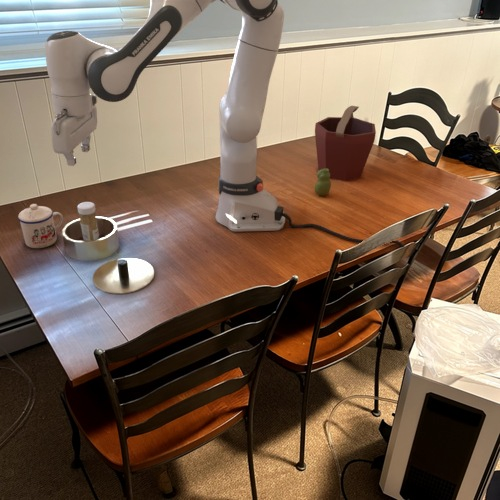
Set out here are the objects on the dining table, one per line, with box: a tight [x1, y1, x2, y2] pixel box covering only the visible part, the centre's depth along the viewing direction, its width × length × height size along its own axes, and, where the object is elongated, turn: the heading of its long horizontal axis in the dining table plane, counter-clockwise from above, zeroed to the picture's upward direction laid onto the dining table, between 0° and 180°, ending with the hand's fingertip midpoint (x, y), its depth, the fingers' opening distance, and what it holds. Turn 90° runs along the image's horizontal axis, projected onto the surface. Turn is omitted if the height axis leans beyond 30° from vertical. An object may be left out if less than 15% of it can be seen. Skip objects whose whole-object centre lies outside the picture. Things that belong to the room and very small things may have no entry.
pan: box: [61, 215, 121, 262], centre depth 137 cm, size 15×15×6 cm
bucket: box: [314, 105, 377, 182], centre depth 185 cm, size 24×22×25 cm
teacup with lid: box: [17, 203, 64, 249], centre depth 139 cm, size 12×9×12 cm
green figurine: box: [314, 168, 332, 197], centre depth 171 cm, size 6×5×10 cm
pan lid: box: [92, 257, 155, 295], centre depth 126 cm, size 16×16×5 cm
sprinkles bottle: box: [76, 201, 100, 241], centre depth 135 cm, size 5×5×13 cm
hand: (79, 157), depth 126 cm, fingers open, 8 cm apart
